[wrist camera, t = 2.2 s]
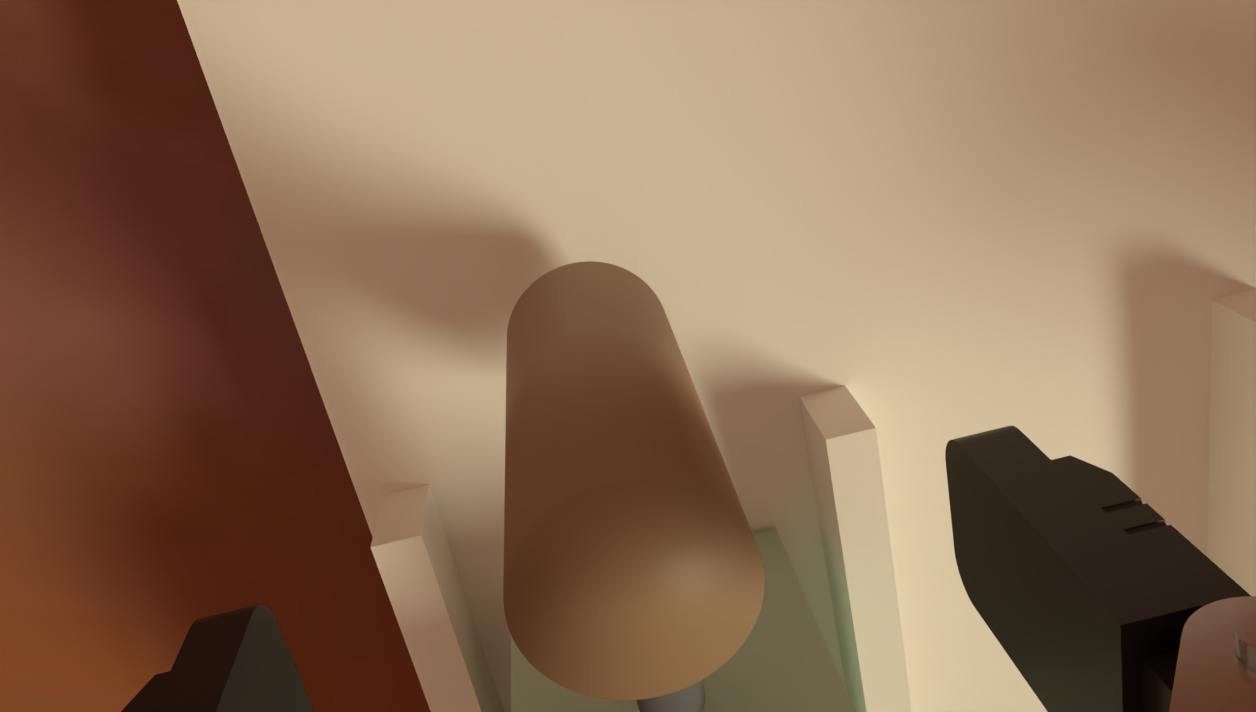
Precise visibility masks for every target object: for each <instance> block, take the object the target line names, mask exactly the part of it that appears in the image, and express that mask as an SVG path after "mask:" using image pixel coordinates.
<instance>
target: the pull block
mask: <svg viewBox="0 0 1256 712" xmlns="http://www.w3.org/2000/svg"><path fill="white" fill-rule="evenodd" d="M503 601H504V613H505V617H506V622H507V626H508V628H509V631H510V633H511V712H856V711H855V709H854V707H853V704H852V702H851V700H850V698H849V695H848V693H847V691H846V688H845V686H844V684H843V681H842V679H841V677H840V675H839V672H838V670H837V668H836V665H835V663H834V661H833V659H832V656H831V654H830V652H829V649H828V647H827V645H826V643H825V640H824V638H823V636H822V633H821V631H820V629H819V627H818V624H817V622H816V620H815V617H814V615H813V613H812V611H811V608H810V606H809V604H808V601H807V599H806V597H805V595H804V592H803V590H802V588H801V585H800V583H799V581H798V579H797V576H796V574H795V572H794V569H793V567H792V565H791V563H790V560H789V558H788V556H787V553H786V551H785V549H784V547H783V544H782V542H781V540H780V537H779V535H778V533H777V530H776V528H775V529H771V530H767V531H762V532H758V533H754V534H753V533H752V531H751V528H750V526H749V523H748V520H747V518H746V515H745V513H744V510H743V508H742V505H741V503H740V500H739V498H738V495H737V493H736V490H735V488H734V485H733V483H732V480H731V477H730V475H729V472H728V470H727V467H726V465H725V462H724V460H723V457H722V455H721V452H720V450H719V447H718V445H717V442H716V440H715V437H714V435H713V432H712V429H711V427H710V424H709V422H708V419H707V417H706V414H705V412H704V409H703V407H702V404H701V402H700V399H699V397H698V394H697V392H696V389H695V387H694V384H693V381H692V379H691V376H690V374H689V371H688V369H687V366H686V364H685V361H684V359H683V356H682V354H681V351H680V349H679V346H678V344H677V341H676V339H675V336H674V333H673V331H672V328H671V326H670V323H669V321H668V318H667V316H666V313H665V311H664V308H663V306H662V304H661V302H660V300H659V299H658V297H657V295H656V294H655V293H654V291H653V290H652V289H651V288H650V287H649V285H647V284H646V283H645V282H644V281H643V280H642V279H641V278H639V277H638V276H636V275H635V274H633V273H632V272H630V271H628V270H626V269H624V268H621V267H619V266H616V265H613V264H608V263H604V262H594V261H588V262H577V263H571V264H567V265H564V266H560V267H558V268H556V269H553V270H551V271H549V272H547V273H546V274H544V275H542V276H541V277H539V278H538V279H537V280H536V281H534V282H533V283H532V284H531V285H530V286H529V287H528V288H527V289H526V290H525V291H524V293H523V294H522V295H521V297H520V298H519V299H518V301H517V303H516V305H515V307H514V308H513V311H512V314H511V316H510V319H509V324H508V328H507V354H506V428H505V503H504V578H503Z"/></svg>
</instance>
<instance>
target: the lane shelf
mask: <svg viewBox="0 0 1256 712" xmlns="http://www.w3.org/2000/svg"><path fill="white" fill-rule="evenodd" d="M177 2H178V4H179V7H180V10H181V13H182V15H183V18H184V21H185V24H186V26H187V29H188V32H189V34H190V37H191V40H192V43H193V45H194V48H195V51H196V54H197V56H198V59H199V62H200V65H201V67H202V70H203V73H204V76H205V78H206V81H207V84H208V87H209V89H210V92H211V95H212V98H213V100H214V103H215V106H216V109H217V111H218V114H219V117H220V120H221V122H222V125H223V128H224V131H225V133H226V136H227V139H228V142H229V144H230V147H231V150H232V153H233V155H234V158H235V161H236V164H237V166H238V169H239V172H240V175H241V177H242V180H243V183H244V186H245V188H246V191H247V194H248V197H249V199H250V202H251V205H252V208H253V210H254V213H255V216H256V219H257V221H258V224H259V227H260V230H261V232H262V235H263V238H264V241H265V243H266V246H267V249H268V252H269V254H270V257H271V260H272V263H273V265H274V268H275V271H276V274H277V276H278V279H279V282H280V285H281V287H282V290H283V293H284V296H285V298H286V301H287V304H288V307H289V309H290V312H291V315H292V317H293V320H294V323H295V326H296V328H297V331H298V334H299V337H300V339H301V342H302V345H303V348H304V350H305V353H306V356H307V359H308V361H309V364H310V367H311V370H312V372H313V375H314V378H315V381H316V383H317V386H318V389H319V392H320V394H321V397H322V400H323V403H324V405H325V408H326V411H327V414H328V416H329V419H330V422H331V425H332V427H333V430H334V433H335V436H336V438H337V441H338V444H339V447H340V449H341V452H342V455H343V458H344V460H345V463H346V466H347V469H348V471H349V474H350V477H351V480H352V482H353V485H354V488H355V491H356V493H357V496H358V499H359V502H360V504H361V507H362V510H363V513H364V515H365V518H366V521H367V524H368V526H369V529H370V532H371V535H372V537H373V538H372V543H371V547H370V548H371V550H372V553H373V556H374V558H375V561H376V564H377V567H378V569H379V572H380V575H381V578H382V580H383V583H384V586H385V588H386V591H387V594H388V597H389V599H390V602H391V605H392V608H393V610H394V613H395V616H396V618H397V621H398V624H399V627H400V629H401V632H402V635H403V638H404V640H405V643H406V646H407V648H408V651H409V654H410V657H411V659H412V662H413V665H414V668H415V670H416V673H417V676H418V678H419V681H420V684H421V687H422V689H423V692H424V695H425V698H426V700H427V703H428V706H429V708H430V711H431V712H511V633H510V631H509V628H508V626H507V622H506V617H505V613H504V601H503V578H504V503H505V428H506V354H507V328H508V324H509V319H510V316H511V314H512V311H513V308H514V307H515V305H516V303H517V301H518V299H519V298H520V297H521V295H522V294H523V293H524V291H525V290H526V289H527V288H528V287H529V286H530V285H531V284H532V283H533V282H534V281H536V280H537V279H538V278H539V277H541V276H542V275H544V274H546V273H547V272H549V271H551V270H553V269H556V268H558V267H560V266H564V265H567V264H571V263H577V262H588V261H594V262H604V263H608V264H613V265H616V266H619V267H621V268H624V269H626V270H628V271H630V272H632V273H633V274H635V275H636V276H638V277H639V278H641V279H642V280H643V281H644V282H645V283H646V284H647V285H649V287H650V288H651V289H652V290H653V291H654V293H655V294H656V295H657V297H658V299H659V300H660V302H661V304H662V306H663V308H664V311H665V313H666V316H667V318H668V321H669V323H670V326H671V328H672V331H673V333H674V336H675V339H676V341H677V344H678V346H679V349H680V351H681V354H682V356H683V359H684V361H685V364H686V366H687V369H688V371H689V374H690V376H691V379H692V381H693V384H694V387H695V389H696V392H697V394H698V397H699V399H700V402H701V404H702V407H703V409H704V412H705V414H706V417H707V419H708V422H709V424H710V427H711V429H712V432H713V435H714V437H715V440H716V442H717V445H718V447H719V450H720V452H721V455H722V457H723V460H724V462H725V465H726V467H727V470H728V472H729V475H730V477H731V480H732V483H733V485H734V488H735V490H736V493H737V495H738V498H739V500H740V503H741V505H742V508H743V510H744V513H745V515H746V518H747V520H748V523H749V526H750V528H751V531H752V533H753V534H754V533H758V532H762V531H767V530H771V529H775V528H776V530H777V533H778V535H779V537H780V540H781V542H782V544H783V547H784V549H785V551H786V553H787V556H788V558H789V560H790V563H791V565H792V567H793V569H794V572H795V574H796V576H797V579H798V581H799V583H800V585H801V588H802V590H803V592H804V595H805V597H806V599H807V601H808V604H809V606H810V608H811V611H812V613H813V615H814V617H815V620H816V622H817V624H818V627H819V629H820V631H821V633H822V636H823V638H824V640H825V643H826V645H827V647H828V649H829V652H830V654H831V656H832V659H833V661H834V663H835V665H836V668H837V670H838V672H839V675H840V677H841V679H842V681H843V684H844V686H845V688H846V691H847V693H848V695H849V698H850V700H851V702H852V704H853V707H854V709H855V711H856V712H1047V710H1046V709H1045V707H1044V706H1043V704H1042V703H1041V702H1040V700H1039V699H1038V697H1037V696H1036V694H1035V693H1034V692H1033V690H1032V689H1031V687H1030V686H1029V684H1028V683H1027V681H1026V680H1025V679H1024V677H1023V676H1022V674H1021V673H1020V671H1019V670H1018V669H1017V667H1016V666H1015V664H1014V663H1013V661H1012V660H1011V659H1010V657H1009V656H1008V654H1007V653H1006V651H1005V650H1004V649H1003V647H1002V646H1001V644H1000V643H999V641H998V640H997V639H996V637H995V636H994V634H993V633H992V631H991V630H990V629H989V627H988V626H987V624H986V623H985V621H984V620H983V619H982V617H981V616H980V614H979V613H978V611H977V610H976V608H975V607H974V605H973V604H972V602H971V600H970V599H969V597H968V594H967V592H966V590H965V588H964V585H963V583H962V580H961V577H960V574H959V570H958V566H957V562H956V557H955V551H954V542H953V532H952V521H951V511H950V501H949V491H948V481H947V471H946V460H945V450H946V445H947V443H948V441H950V440H952V439H956V438H961V437H965V436H969V435H973V434H977V433H981V432H985V431H990V430H994V429H998V428H1002V427H1006V426H1015V427H1017V428H1018V429H1019V430H1020V431H1021V432H1022V433H1024V434H1025V435H1026V436H1027V437H1028V438H1029V439H1030V440H1031V441H1032V442H1033V443H1034V444H1035V445H1036V446H1037V447H1038V448H1039V449H1040V450H1041V451H1042V452H1043V453H1044V454H1045V455H1046V456H1047V457H1048V458H1049V459H1051V460H1053V459H1057V458H1062V457H1066V456H1070V455H1071V456H1073V457H1075V458H1078V459H1080V460H1083V461H1085V462H1087V463H1090V464H1092V465H1095V466H1097V467H1099V468H1102V469H1104V470H1107V471H1109V472H1111V473H1113V474H1114V475H1115V476H1117V477H1118V478H1119V479H1120V480H1121V481H1122V482H1123V483H1124V484H1126V485H1127V486H1128V487H1129V488H1130V489H1131V490H1132V491H1133V492H1135V493H1136V494H1137V495H1138V496H1139V497H1140V498H1141V501H1142V503H1143V504H1146V503H1147V504H1148V505H1149V506H1150V507H1152V508H1153V509H1154V510H1155V511H1156V512H1157V513H1158V514H1159V515H1161V516H1162V517H1163V518H1164V519H1165V523H1166V525H1172V526H1173V527H1174V528H1175V529H1176V530H1177V531H1179V532H1180V533H1181V534H1182V535H1183V536H1184V537H1185V538H1186V539H1188V540H1189V541H1190V542H1191V543H1192V544H1193V545H1194V546H1195V547H1197V548H1198V549H1199V550H1200V551H1201V552H1202V553H1203V554H1204V555H1206V556H1207V557H1208V558H1209V559H1210V560H1211V561H1212V562H1214V563H1215V564H1216V565H1217V566H1218V567H1219V568H1220V569H1221V570H1223V571H1224V572H1225V573H1226V574H1227V575H1228V576H1229V577H1230V578H1232V579H1233V580H1234V581H1235V582H1236V583H1237V584H1238V585H1239V586H1241V587H1242V588H1243V589H1244V590H1245V591H1246V592H1247V593H1248V594H1250V595H1251V596H1256V0H177Z"/></svg>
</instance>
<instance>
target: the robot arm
mask: <svg viewBox="0 0 1256 712" xmlns="http://www.w3.org/2000/svg"><path fill="white" fill-rule="evenodd" d="M945 460H946V471H947V481H948V491H949V501H950V511H951V521H952V532H953V542H954V551H955V557H956V562H957V566H958V570H959V574H960V577H961V580H962V583H963V585H964V588H965V590H966V592H967V594H968V597H969V599H970V600H971V602H972V604H973V605H974V607H975V608H976V610H977V611H978V613H979V614H980V616H981V617H982V619H983V620H984V621H985V623H986V624H987V626H988V627H989V629H990V630H991V631H992V633H993V634H994V636H995V637H996V639H997V640H998V641H999V643H1000V644H1001V646H1002V647H1003V649H1004V650H1005V651H1006V653H1007V654H1008V656H1009V657H1010V659H1011V660H1012V661H1013V663H1014V664H1015V666H1016V667H1017V669H1018V670H1019V671H1020V673H1021V674H1022V676H1023V677H1024V679H1025V680H1026V681H1027V683H1028V684H1029V686H1030V687H1031V689H1032V690H1033V692H1034V693H1035V694H1036V696H1037V697H1038V699H1039V700H1040V702H1041V703H1042V704H1043V706H1044V707H1045V709H1046V710H1047V712H1256V596H1251V595H1250V594H1248V593H1247V592H1246V591H1245V590H1244V589H1243V588H1242V587H1241V586H1239V585H1238V584H1237V583H1236V582H1235V581H1234V580H1233V579H1232V578H1230V577H1229V576H1228V575H1227V574H1226V573H1225V572H1224V571H1223V570H1221V569H1220V568H1219V567H1218V566H1217V565H1216V564H1215V563H1214V562H1212V561H1211V560H1210V559H1209V558H1208V557H1207V556H1206V555H1204V554H1203V553H1202V552H1201V551H1200V550H1199V549H1198V548H1197V547H1195V546H1194V545H1193V544H1192V543H1191V542H1190V541H1189V540H1188V539H1186V538H1185V537H1184V536H1183V535H1182V534H1181V533H1180V532H1179V531H1177V530H1176V529H1175V528H1174V527H1173V526H1172V525H1166V523H1165V519H1164V518H1163V517H1162V516H1161V515H1159V514H1158V513H1157V512H1156V511H1155V510H1154V509H1153V508H1152V507H1150V506H1149V505H1148V504H1147V503H1146V504H1143V503H1142V501H1141V498H1140V497H1139V496H1138V495H1137V494H1136V493H1135V492H1133V491H1132V490H1131V489H1130V488H1129V487H1128V486H1127V485H1126V484H1124V483H1123V482H1122V481H1121V480H1120V479H1119V478H1118V477H1117V476H1115V475H1114V474H1113V473H1111V472H1109V471H1107V470H1104V469H1102V468H1099V467H1097V466H1095V465H1092V464H1090V463H1087V462H1085V461H1083V460H1080V459H1078V458H1075V457H1073V456H1071V455H1070V456H1066V457H1062V458H1057V459H1053V460H1051V459H1049V458H1048V457H1047V456H1046V455H1045V454H1044V453H1043V452H1042V451H1041V450H1040V449H1039V448H1038V447H1037V446H1036V445H1035V444H1034V443H1033V442H1032V441H1031V440H1030V439H1029V438H1028V437H1027V436H1026V435H1025V434H1024V433H1022V432H1021V431H1020V430H1019V429H1018V428H1017V427H1015V426H1006V427H1002V428H998V429H994V430H990V431H985V432H981V433H977V434H973V435H969V436H965V437H961V438H956V439H952V440H950V441H948V443H947V445H946V450H945ZM121 712H314V710H313V707H312V704H311V702H310V699H309V697H308V695H307V692H306V690H305V688H304V685H303V683H302V680H301V678H300V676H299V673H298V671H297V668H296V666H295V664H294V661H293V659H292V657H291V654H290V652H289V649H288V647H287V645H286V642H285V640H284V638H283V635H282V633H281V630H280V628H279V626H278V623H277V621H276V619H275V617H274V615H273V614H272V612H271V611H270V609H269V608H268V607H266V606H265V605H256V606H252V607H248V608H244V609H239V610H235V611H231V612H227V613H223V614H219V615H215V616H210V617H206V618H202V619H198V620H196V621H195V622H194V623H193V624H192V626H191V627H190V629H189V632H188V634H187V636H186V638H185V640H184V643H183V645H182V647H181V649H180V652H179V654H178V656H177V658H176V660H175V663H174V665H173V667H172V669H171V671H169V672H165V673H161V674H157V675H155V676H154V677H153V678H152V679H151V680H150V681H149V682H148V683H147V684H146V685H145V686H144V688H143V689H142V690H141V691H140V692H139V693H138V694H137V695H136V696H135V697H134V698H133V699H132V700H131V701H130V703H129V704H128V705H127V706H126V707H125V708H124V709H123V710H122V711H121Z"/></svg>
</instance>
